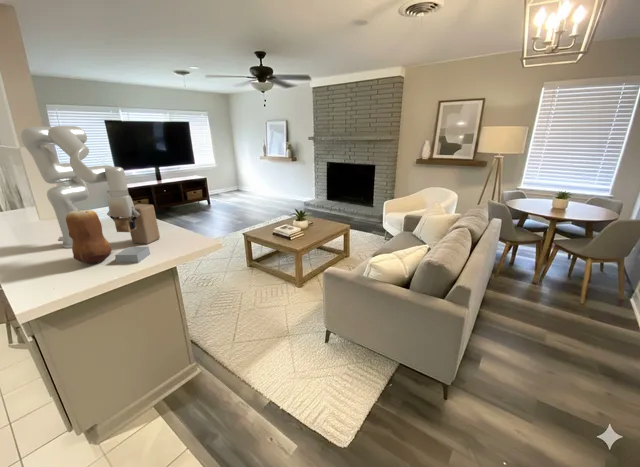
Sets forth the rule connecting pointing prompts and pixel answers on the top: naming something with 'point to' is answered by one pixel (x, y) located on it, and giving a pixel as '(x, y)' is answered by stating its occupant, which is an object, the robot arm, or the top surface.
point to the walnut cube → (123, 224)
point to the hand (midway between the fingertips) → (126, 228)
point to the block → (145, 225)
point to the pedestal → (132, 254)
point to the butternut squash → (87, 236)
